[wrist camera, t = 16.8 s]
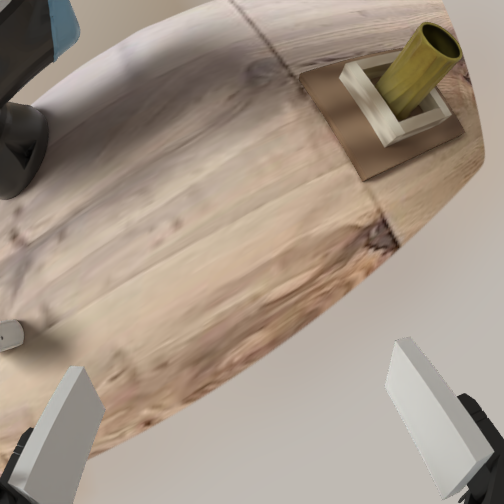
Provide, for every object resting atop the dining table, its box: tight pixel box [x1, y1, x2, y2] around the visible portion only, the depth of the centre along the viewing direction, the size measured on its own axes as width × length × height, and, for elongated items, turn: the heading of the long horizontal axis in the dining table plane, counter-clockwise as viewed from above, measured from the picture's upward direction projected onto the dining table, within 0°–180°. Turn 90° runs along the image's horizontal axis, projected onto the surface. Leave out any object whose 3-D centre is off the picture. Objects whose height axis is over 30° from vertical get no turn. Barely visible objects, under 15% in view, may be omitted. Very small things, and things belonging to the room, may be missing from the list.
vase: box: [374, 22, 462, 120], centre depth 27 cm, size 6×6×14 cm
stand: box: [299, 48, 465, 182], centre depth 33 cm, size 16×20×5 cm
